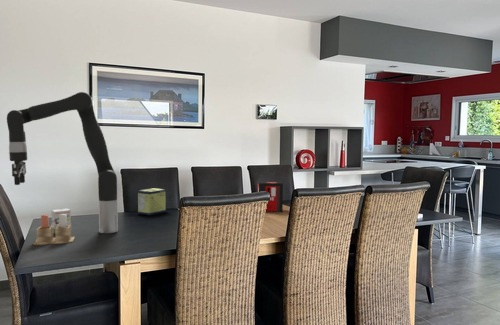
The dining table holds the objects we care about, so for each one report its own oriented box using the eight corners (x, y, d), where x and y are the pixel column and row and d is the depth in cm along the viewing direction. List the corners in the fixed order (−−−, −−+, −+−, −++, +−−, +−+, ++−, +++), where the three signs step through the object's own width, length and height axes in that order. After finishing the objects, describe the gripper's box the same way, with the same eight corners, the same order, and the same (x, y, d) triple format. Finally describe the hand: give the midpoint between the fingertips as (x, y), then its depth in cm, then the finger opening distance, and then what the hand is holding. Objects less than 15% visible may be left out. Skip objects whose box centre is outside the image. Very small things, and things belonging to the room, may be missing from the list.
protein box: (166, 211, 266) (166, 189, 265) (148, 215, 253) (148, 191, 252) (155, 210, 271) (154, 187, 270) (137, 213, 258) (137, 190, 257)
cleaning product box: (258, 212, 267) (258, 183, 266) (257, 209, 276) (257, 181, 275) (282, 212, 268) (283, 183, 267) (280, 209, 277) (281, 181, 276)
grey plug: (67, 230, 194) (67, 213, 193) (66, 232, 190) (65, 215, 190) (60, 231, 193) (59, 214, 192) (59, 232, 190) (58, 215, 189)
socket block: (74, 237, 197) (74, 224, 197) (72, 242, 189) (71, 228, 188) (37, 240, 193) (36, 226, 192) (32, 245, 184) (32, 230, 183)
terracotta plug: (49, 231, 191) (49, 214, 191) (48, 233, 188) (47, 215, 188) (42, 232, 190) (41, 214, 190) (40, 233, 187) (40, 216, 187)
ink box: (54, 233, 205) (53, 211, 204) (51, 231, 209) (51, 210, 208) (71, 231, 211) (70, 209, 210) (68, 229, 214) (68, 208, 214)
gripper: (22, 151, 187) (24, 185, 189) (30, 150, 201) (32, 181, 202) (4, 152, 185) (6, 186, 187) (13, 150, 199) (15, 182, 200)
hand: (19, 183), depth 194 cm, fingers open, 8 cm apart
